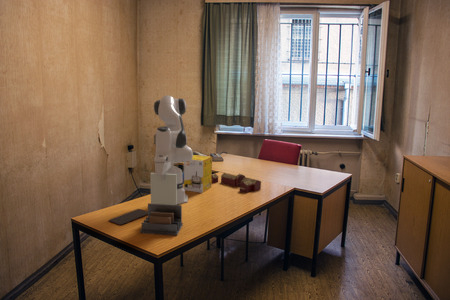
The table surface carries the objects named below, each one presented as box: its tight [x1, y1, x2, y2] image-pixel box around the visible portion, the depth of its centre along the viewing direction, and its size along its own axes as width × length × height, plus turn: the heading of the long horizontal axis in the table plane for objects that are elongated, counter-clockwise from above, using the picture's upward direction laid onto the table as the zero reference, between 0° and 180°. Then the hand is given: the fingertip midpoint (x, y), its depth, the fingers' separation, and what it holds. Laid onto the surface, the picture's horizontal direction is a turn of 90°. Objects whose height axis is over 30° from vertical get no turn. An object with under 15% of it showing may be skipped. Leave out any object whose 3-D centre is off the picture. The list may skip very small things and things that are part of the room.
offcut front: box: [149, 216, 171, 224], centre depth 206 cm, size 2×12×7 cm, turn 85°
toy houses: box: [212, 172, 262, 194], centre depth 299 cm, size 45×20×10 cm, turn 50°
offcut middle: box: [150, 212, 174, 222], centre depth 210 cm, size 2×13×8 cm, turn 84°
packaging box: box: [183, 154, 213, 194], centre depth 287 cm, size 16×16×25 cm
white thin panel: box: [149, 172, 178, 205], centre depth 210 cm, size 2×15×18 cm, turn 84°
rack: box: [139, 202, 184, 237], centre depth 209 cm, size 15×21×12 cm
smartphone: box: [108, 208, 148, 227], centre depth 226 cm, size 12×2×25 cm
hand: (163, 179), depth 209 cm, fingers closed on white thin panel, 2 cm apart
